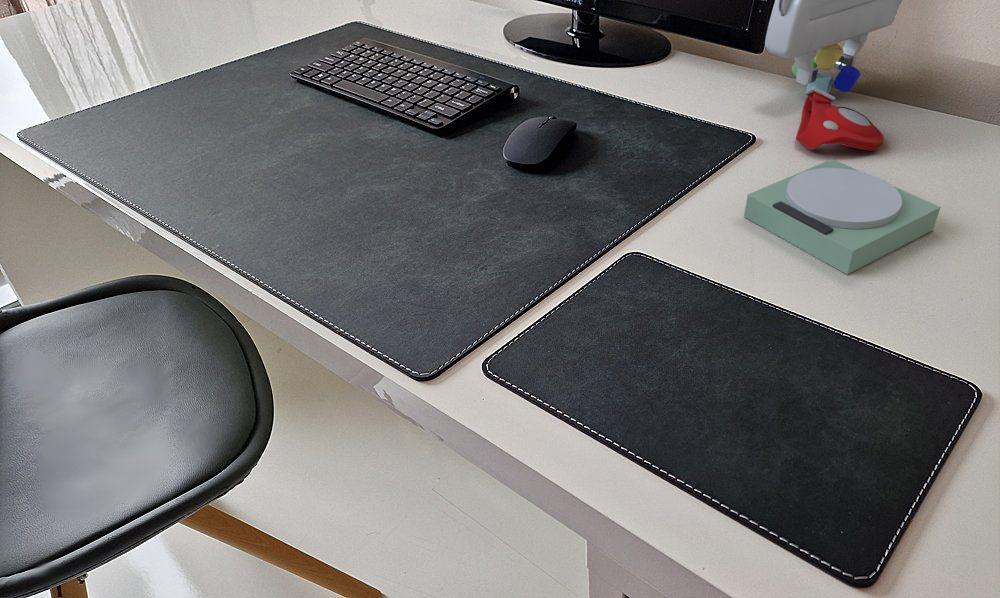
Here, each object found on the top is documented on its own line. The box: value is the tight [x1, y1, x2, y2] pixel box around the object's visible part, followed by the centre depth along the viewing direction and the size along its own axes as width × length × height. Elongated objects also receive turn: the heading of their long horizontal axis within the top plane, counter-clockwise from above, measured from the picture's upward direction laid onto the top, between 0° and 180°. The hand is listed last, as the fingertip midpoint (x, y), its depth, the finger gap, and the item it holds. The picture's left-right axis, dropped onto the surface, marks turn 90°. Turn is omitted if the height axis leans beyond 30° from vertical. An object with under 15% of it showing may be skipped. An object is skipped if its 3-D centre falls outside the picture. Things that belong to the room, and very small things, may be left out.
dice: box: [791, 43, 861, 94], centre depth 97 cm, size 8×3×6 cm, turn 58°
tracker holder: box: [795, 87, 884, 152], centre depth 88 cm, size 12×4×10 cm
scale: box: [743, 158, 941, 275], centre depth 74 cm, size 12×12×3 cm
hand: (824, 75), depth 97 cm, fingers open, 5 cm apart
